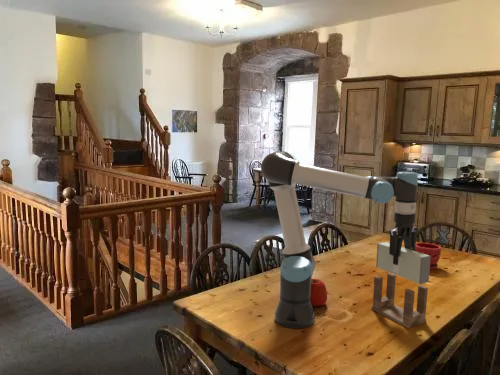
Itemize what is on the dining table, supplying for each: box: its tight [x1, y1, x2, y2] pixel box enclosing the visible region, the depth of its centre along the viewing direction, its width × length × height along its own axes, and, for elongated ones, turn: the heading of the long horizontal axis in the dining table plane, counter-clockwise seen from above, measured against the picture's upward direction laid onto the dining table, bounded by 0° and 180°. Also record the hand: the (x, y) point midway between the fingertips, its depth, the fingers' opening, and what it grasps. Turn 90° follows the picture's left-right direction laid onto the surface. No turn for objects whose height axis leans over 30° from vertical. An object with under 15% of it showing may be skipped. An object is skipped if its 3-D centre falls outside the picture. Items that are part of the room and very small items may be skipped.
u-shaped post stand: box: [371, 272, 429, 329], centre depth 160 cm, size 10×18×14 cm, turn 30°
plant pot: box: [415, 242, 442, 270], centre depth 219 cm, size 13×13×12 cm
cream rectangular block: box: [375, 241, 431, 285], centre depth 158 cm, size 4×21×10 cm, turn 30°
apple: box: [310, 278, 328, 307], centre depth 171 cm, size 11×11×11 cm
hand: (401, 271), depth 158 cm, fingers closed on cream rectangular block, 4 cm apart
